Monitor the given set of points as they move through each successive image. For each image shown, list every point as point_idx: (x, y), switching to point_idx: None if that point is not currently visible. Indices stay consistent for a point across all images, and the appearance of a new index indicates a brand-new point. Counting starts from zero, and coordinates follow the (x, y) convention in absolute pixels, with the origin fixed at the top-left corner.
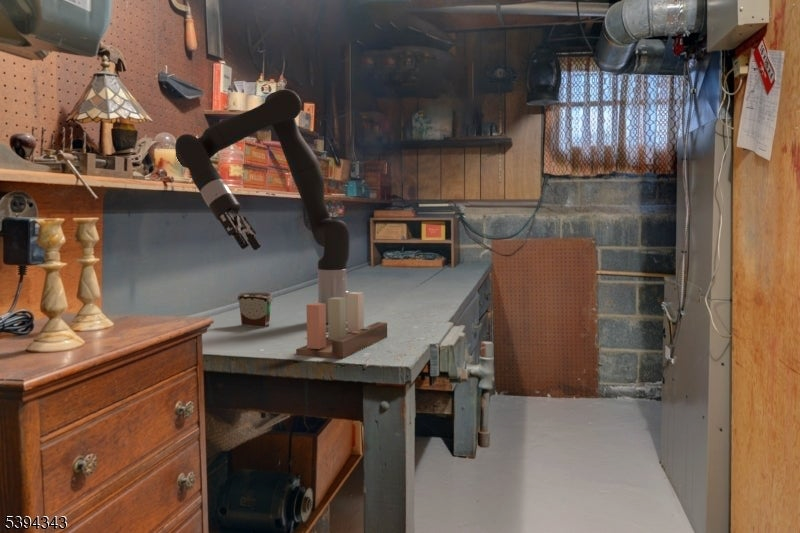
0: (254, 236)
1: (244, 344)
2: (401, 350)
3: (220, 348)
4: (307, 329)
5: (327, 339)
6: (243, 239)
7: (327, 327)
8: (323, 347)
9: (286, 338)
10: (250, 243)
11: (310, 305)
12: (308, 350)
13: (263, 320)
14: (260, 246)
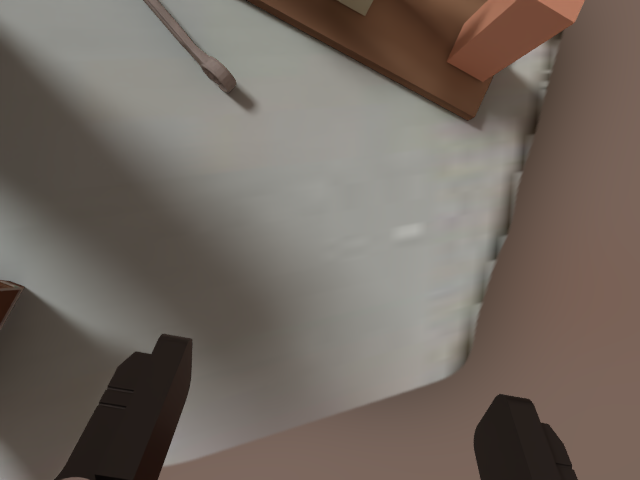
0: (119, 459)
1: (331, 302)
2: None
3: (383, 364)
4: (516, 58)
5: (342, 22)
6: (550, 477)
7: (172, 18)
8: (456, 34)
9: (243, 175)
10: (159, 464)
11: (581, 6)
12: (491, 78)
13: (3, 300)
14: (166, 334)
